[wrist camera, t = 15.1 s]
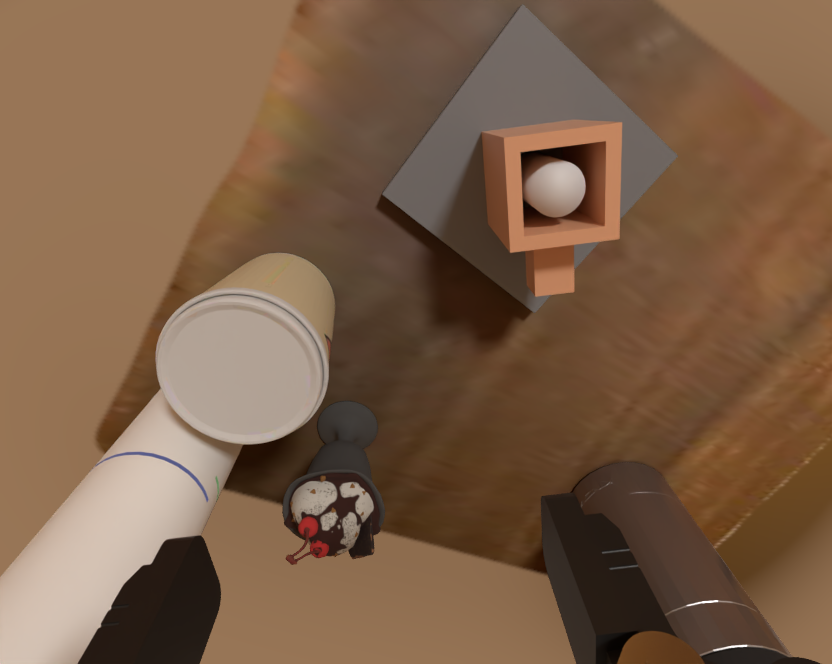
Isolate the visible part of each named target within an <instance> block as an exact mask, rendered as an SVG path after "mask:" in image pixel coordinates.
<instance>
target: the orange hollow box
mask: <svg viewBox="0 0 832 664" xmlns="http://www.w3.org/2000/svg"><path fill="white" fill-rule="evenodd" d="M482 146H483V160H484V175H485V189H486V203H487V217H488V225H489V226H490V227H491V229H492V230H493V231H494V232H495V234H496V235H497V236H498V238H499V239H500V240H501V242H502V243H503V244H504V245H505V247H506V248H507V249H508V251H509V252H510V253H513V252H521V251H525V256H526V279H527V286H528V287H529V289H530V290H531V291H532V293H533V294H534V296H535V297H537V296H545V295H553V294H561V293H569V292H574V245H576V244H584V243H592V242H600V241H608V240H615V239H619V232H620V192H621V153H622V122H609V121H591V120H567V121H560V122H552V123H544V124H537V125H529V126H521V127H514V128H506V129H499V130H491V131H483V132H482ZM557 147H562V160H564V161H567V162H570V163H572V164H574V165H575V166H577V167H578V168H579V169H580V171H581V172H582V174H583V176H584V179H585V185H586V187H585V194H584V197H583V199H582V201H581V203H580V204H579V206H578V207H577V208H576V209H575V210H574V211H572V212H571V213H569V214H567V215H565V216H562V217H549V216H546V215H544V214H542V213H540V212H539V211H538V210H536V209H535V208H534V207H526V208H523V200H522V177H521V154H520V152H526V151H534V150H541V149H549V148H557Z"/></svg>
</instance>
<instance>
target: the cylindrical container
mask: <svg viewBox="0 0 832 664" xmlns="http://www.w3.org/2000/svg"><path fill="white" fill-rule="evenodd" d="M242 446H243V444H235V443H229V442H224V441H221V440H218V439H215V438H212V437H209V436H207V435H205V434H203V433H201V432H200V431H198V430H196V429H195V428H193V427H192V426H190V425H189V424H188V423H186V422H185V421H184V420H183V419H182V418H181V417H180V416H179V415H178V414H177V413H176V412H175V411H174V410H173V408H172V407H171V406H170V404H169V403H168V401H167V400H166V398H165V396H164V394H163V392H162V390H161V389H160V390H159V392H158V393H157V394H156V395H155V396H154V397H153V399H152V400H151V401H150V402H149V403H148V405H147V406H146V407H145V408H144V409H143V410H142V412H141V413H140V414H139V415H138V416H137V417H136V419H135V420H134V421H133V422H132V423H131V424H130V426H129V427H128V428H127V429H126V430H125V431H124V433H123V434H122V435H121V436H120V437H119V438H118V440H117V441H116V442H115V443H114V444H113V445H112V447H111V448H110V449H109V450H108V451H107V452H106V454H105V455H104V456H103V457H102V458H101V460H100V461H99V462H98V463H97V464H96V465H95V467H94V468H93V469H92V470H91V471H90V473H89V474H88V475H87V476H86V477H85V478H84V479H83V481H82V482H81V483H80V484H79V485H78V486H77V488H76V489H75V490H74V491H73V492H72V493H71V495H70V496H69V497H68V498H67V499H66V501H65V502H64V503H63V504H62V505H61V506H60V508H59V509H58V510H57V511H56V512H55V514H54V515H53V516H52V517H51V518H50V519H49V521H48V522H47V523H46V524H45V525H44V526H43V528H42V529H41V530H40V531H39V532H38V534H37V535H36V536H35V537H34V538H33V539H32V540H31V542H30V543H29V544H28V545H27V546H26V547H25V549H24V550H23V551H22V552H21V554H20V555H19V556H18V557H17V558H16V559H15V560H14V562H13V563H12V564H11V565H10V566H9V567H8V569H7V570H6V571H5V572H4V573H3V574H2V576H1V577H0V664H78V662H79V660H80V658H81V657H82V655H83V653H84V652H85V650H86V648H87V646H88V645H89V643H90V641H91V640H92V638H93V636H94V634H95V633H96V631H97V629H98V628H100V627H101V622H102V621H103V619H104V617H105V615H106V614H107V612H108V610H111V605H112V603H113V602H114V600H115V598H116V596H117V595H118V593H119V591H120V590H121V588H122V586H123V585H124V584H125V583H126V582H127V581H128V580H129V579H130V578H131V577H132V576H133V575H134V574H135V573H136V572H137V571H138V570H139V569H140V568H141V567H142V566H143V565H149V564H152V562H153V560H154V558H155V556H156V554H157V553H158V551H159V549H160V547H161V545H162V544H163V542H164V541H165V540H167V539H172V538H180V537H189V536H197V535H200V536H201V534H202V532H203V530H204V528H205V525H206V523H207V521H208V519H209V517H210V515H211V512H212V510H213V508H214V506H215V504H216V502H217V500H218V498H219V495H220V493H221V491H222V489H223V487H224V485H225V483H226V480H227V478H228V476H229V474H230V472H231V470H232V468H233V465H234V463H235V461H236V459H237V457H238V455H239V453H240V450H241V448H242Z"/></svg>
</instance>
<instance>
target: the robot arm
mask: <svg viewBox="0 0 832 664" xmlns="http://www.w3.org/2000/svg"><path fill="white" fill-rule="evenodd" d="M541 517H542V542H543V554H544V560H545V565H546V569H547V573H548V576H549V579H550V582H551V585H552V589H553V592H554V595H555V598H556V601H557V604H558V608H559V611H560V613H561V617H562V620H563V623H564V626H565V629H566V633H567V636H568V639H569V642H570V645H571V648H572V651H573V654H574V657H575V660H576V664H820V663H818V662H815V661H812V660H809V659H805V658H799V657H792V655H791V654H790V652H789V651H788V650H787V648H786V647H785V645H784V644H783V643H782V641H781V640H780V639H779V637H778V636H777V634H776V633H775V632H774V630H773V629H772V627H771V626H770V625H769V623H768V622H767V620H766V619H765V618H764V617H763V615H762V614H761V613H760V611H759V610H758V608H757V607H756V606H755V604H754V603H753V601H752V600H751V599H750V597H749V596H748V594H747V593H746V592H745V590H744V589H743V588H742V586H741V585H740V583H739V582H738V581H737V579H736V578H735V576H734V575H733V574H732V572H731V571H730V570H729V568H728V567H727V565H726V564H725V563H724V561H723V560H722V558H721V557H720V555H719V554H718V553H717V551H716V550H715V549H714V547H713V546H712V544H711V543H710V542H709V540H708V539H707V537H706V536H705V535H704V533H703V532H702V530H701V529H700V528H699V526H698V525H697V523H696V522H695V521H694V519H693V518H692V517H691V515H690V514H689V512H688V511H687V509H686V508H685V506H684V505H683V504H682V502H681V501H680V499H679V498H678V497H677V495H676V494H675V493H674V491H673V490H672V488H671V487H670V486H669V484H668V483H667V482H666V480H665V479H664V478H663V476H662V475H661V474H660V473H659V472H657V471H656V470H655V469H653V468H651V467H649V466H646V465H644V464H639V463H632V462H622V463H616V464H611V465H608V466H605V467H602V468H600V469H598V470H596V471H594V472H592V473H590V474H589V475H588V476H586V477H585V478H584V479H583V480H582V481H581V482H580V483H579V484H578V485H577V486H576V487H575V489H574V491H573V492H572V493H564V494H556V495H547V496H542V497H541ZM220 600H221V589H220V583H219V580H218V577H217V574H216V571H215V568H214V565H213V563H212V560H211V557H210V554H209V552H208V549H207V546H206V543H205V541H204V539H203V537H202V536H200V535H197V536H189V537H180V538H172V539H167V540H165V541H164V542H163V544H162V545H161V547H160V549H159V551H158V553H157V554H156V556H155V558H154V560H153V562H152V564H149V565H143V566H142V567H141V568H140V569H139V570H138V571H137V572H136V573H135V574H134V575H133V576H132V577H131V578H130V579H129V580H128V581H127V582H126V583H125V584H124V585H123V586H122V588H121V590H120V591H119V593H118V595H117V596H116V598H115V600H114V602H113V603H112V605H111V610H108V612H107V614H106V615H105V617H104V619H103V621H102V622H101V627H100V628H98V629H97V631H96V633H95V634H94V636H93V638H92V640H91V641H90V643H89V645H88V646H87V648H86V650H85V652H84V653H83V655H82V657H81V658H80V660H79V662H78V664H199V663H200V661H201V658H202V655H203V652H204V650H205V647H206V644H207V642H208V639H209V636H210V633H211V630H212V628H213V625H214V622H215V619H216V617H217V614H218V611H219V606H220Z"/></svg>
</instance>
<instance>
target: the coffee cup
mask: <svg viewBox="0 0 832 664" xmlns="http://www.w3.org/2000/svg"><path fill="white" fill-rule="evenodd" d="M334 317H335V300H334V295H333V291H332V288H331V286H330V284H329V282H328V280H327V279H326V277H325V276H324V275H323V273H322V272H321V271H320V270H319V269H318V268H317V267H315V266H314V265H313V264H312V263H310V262H309V261H307V260H305V259H303V258H301V257H298V256H295V255H292V254H286V253H271V254H265V255H262V256H259V257H257V258H255V259H253V260H251V261H249V262H248V263H246V264H244V265H243V266H242V267H240V268H239V269H237V270H236V271H234V272H233V273H231V274H230V275H228V276H227V277H225V278H224V279H223V280H221V281H220V282H218V283H217V284H215V285H214V286H213V287H211V288H210V289H208V290H207V291H205V292H204V293H203V294H201V295H198V296H196V297H195V298H193V299H191V300H189V301H188V302H186V303H185V304H184V305H182V306H181V307H180V308H179V309H178V310H176V311H175V312H174V313H173V315H172V316H171V317H170V318H169V320H168V321H167V323H166V324H165V326H164V328H163V330H162V332H161V334H160V336H159V340H158V343H157V349H156V368H157V376H158V381H159V384H160V387H161V390H162V392H163V394H164V396H165V398H166V400H167V401H168V403H169V404H170V406H171V407H172V408H173V410H174V411H175V412H176V413H177V414H178V415H179V416H180V417H181V418H182V419H183V420H184V421H185V422H186V423H188V424H189V425H190V426H192V427H193V428H195V429H196V430H198V431H200V432H201V433H203V434H205V435H207V436H209V437H212V438H215V439H218V440H221V441H224V442H229V443H235V444H260V443H266V442H270V441H274V440H276V439H279V438H282V437H284V436H286V435H288V434H290V433H292V432H294V431H295V430H297V429H298V428H300V427H301V426H302V425H304V424H305V423H306V422H307V421H308V420H309V419H310V418H311V417H312V416H313V415H314V413H315V412H316V411H317V409H318V408H319V406H320V404H321V403H322V401H323V398H324V396H325V393H326V390H327V386H328V379H329V358H330V351H331V342H332V334H333V326H334Z"/></svg>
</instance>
